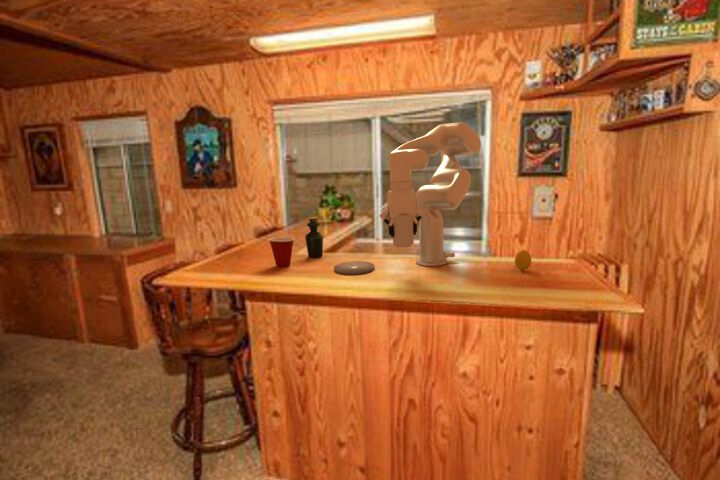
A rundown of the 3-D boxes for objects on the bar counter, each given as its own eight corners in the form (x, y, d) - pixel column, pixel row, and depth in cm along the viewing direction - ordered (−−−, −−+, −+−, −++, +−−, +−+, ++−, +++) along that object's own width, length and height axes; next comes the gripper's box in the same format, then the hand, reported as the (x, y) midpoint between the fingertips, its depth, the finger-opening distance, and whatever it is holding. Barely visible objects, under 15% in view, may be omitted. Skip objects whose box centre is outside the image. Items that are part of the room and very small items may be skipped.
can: (413, 247, 138) (412, 214, 136) (391, 248, 140) (390, 215, 137) (414, 243, 145) (413, 211, 143) (394, 243, 147) (393, 211, 144)
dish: (370, 262, 164) (370, 259, 164) (378, 272, 149) (378, 269, 149) (332, 265, 162) (332, 262, 162) (336, 276, 146) (336, 273, 146)
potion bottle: (303, 257, 179) (300, 218, 176) (317, 253, 185) (314, 216, 181) (313, 259, 174) (310, 219, 170) (327, 256, 179) (325, 217, 175)
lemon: (530, 269, 145) (531, 248, 143) (531, 273, 140) (532, 251, 138) (514, 268, 146) (514, 248, 145) (514, 272, 141) (515, 251, 140)
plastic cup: (301, 264, 166) (299, 237, 163) (280, 270, 158) (278, 241, 156) (286, 261, 173) (284, 234, 171) (265, 266, 165) (263, 238, 163)
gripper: (421, 184, 143) (422, 231, 147) (374, 187, 140) (377, 235, 144) (428, 185, 136) (429, 235, 139) (379, 189, 133) (381, 239, 137)
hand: (403, 235), depth 142 cm, fingers closed on can, 7 cm apart
